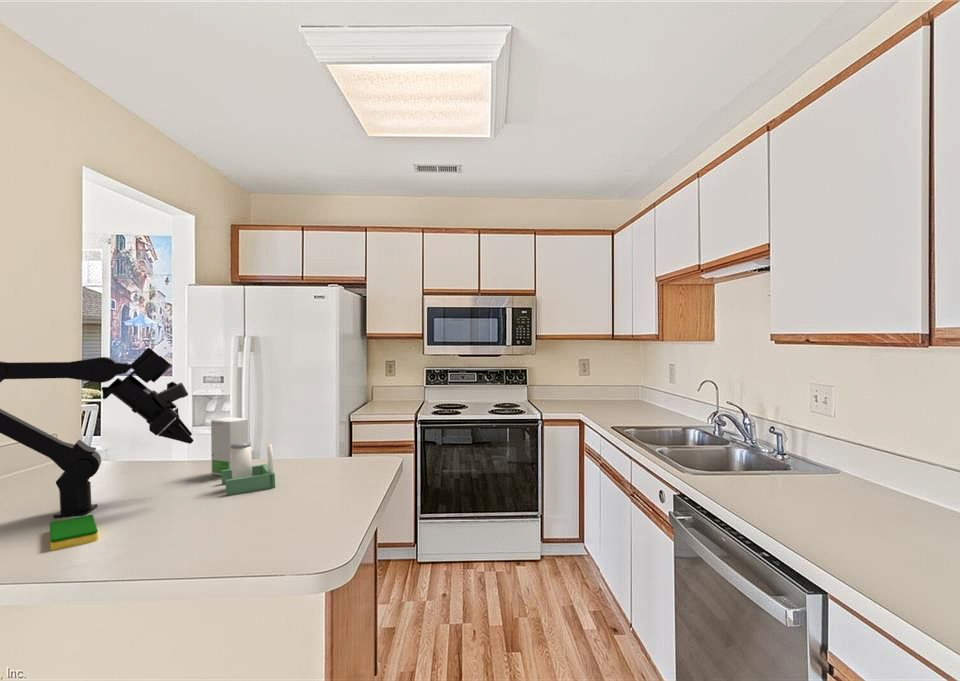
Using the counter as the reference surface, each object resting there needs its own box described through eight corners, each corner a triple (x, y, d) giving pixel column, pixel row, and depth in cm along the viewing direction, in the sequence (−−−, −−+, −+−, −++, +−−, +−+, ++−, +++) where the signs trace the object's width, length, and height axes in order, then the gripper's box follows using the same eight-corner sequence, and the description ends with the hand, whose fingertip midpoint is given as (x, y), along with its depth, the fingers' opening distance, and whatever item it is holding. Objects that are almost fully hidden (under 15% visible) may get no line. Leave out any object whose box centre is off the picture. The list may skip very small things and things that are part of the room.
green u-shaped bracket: (226, 495, 133) (224, 452, 133) (221, 483, 145) (220, 443, 145) (275, 487, 139) (273, 446, 139) (266, 476, 150) (265, 438, 150)
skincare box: (211, 475, 155) (208, 420, 155) (231, 469, 161) (229, 416, 161) (231, 477, 151) (228, 421, 151) (251, 471, 157) (248, 417, 157)
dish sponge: (50, 553, 100) (50, 539, 100) (50, 533, 111) (49, 521, 111) (98, 542, 105) (97, 530, 105) (93, 525, 116) (92, 513, 116)
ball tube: (251, 487, 139) (249, 444, 139) (231, 489, 138) (228, 446, 138) (254, 482, 144) (252, 441, 144) (234, 485, 143) (232, 442, 143)
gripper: (165, 375, 125) (219, 419, 131) (165, 369, 141) (213, 409, 147) (125, 412, 121) (182, 456, 127) (129, 402, 137) (180, 441, 143)
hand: (191, 438), depth 136 cm, fingers open, 9 cm apart
